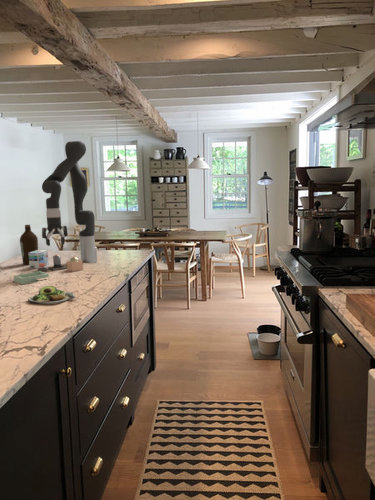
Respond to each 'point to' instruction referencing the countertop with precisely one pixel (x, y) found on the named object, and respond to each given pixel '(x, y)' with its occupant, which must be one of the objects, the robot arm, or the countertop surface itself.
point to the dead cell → (74, 259)
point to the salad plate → (51, 296)
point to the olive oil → (28, 244)
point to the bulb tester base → (50, 269)
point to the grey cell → (57, 261)
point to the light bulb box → (38, 258)
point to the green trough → (26, 279)
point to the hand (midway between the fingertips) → (55, 244)
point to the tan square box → (74, 265)
